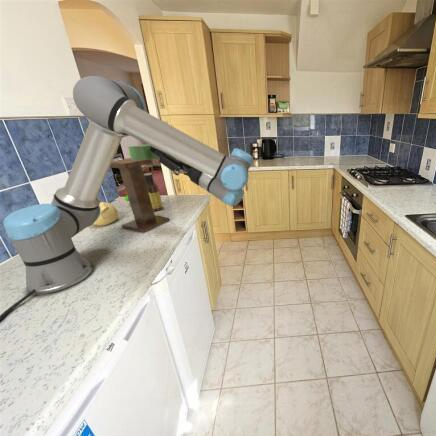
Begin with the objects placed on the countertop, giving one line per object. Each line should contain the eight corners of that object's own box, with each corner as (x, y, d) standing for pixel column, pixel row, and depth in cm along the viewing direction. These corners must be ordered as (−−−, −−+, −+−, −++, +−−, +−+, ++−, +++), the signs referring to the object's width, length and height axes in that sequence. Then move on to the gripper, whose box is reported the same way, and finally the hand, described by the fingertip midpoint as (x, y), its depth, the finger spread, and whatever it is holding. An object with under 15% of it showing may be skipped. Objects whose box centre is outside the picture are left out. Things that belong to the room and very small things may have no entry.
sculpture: (83, 227, 113) (75, 206, 109) (106, 217, 124) (98, 197, 120) (104, 228, 111) (96, 207, 107) (125, 218, 122) (118, 198, 118)
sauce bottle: (152, 208, 135) (142, 173, 127) (164, 206, 137) (155, 172, 129) (149, 212, 129) (139, 175, 122) (162, 210, 131) (153, 174, 123)
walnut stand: (144, 232, 107) (123, 164, 95) (122, 227, 112) (100, 162, 100) (169, 220, 119) (154, 158, 107) (149, 216, 124) (132, 157, 112)
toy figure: (167, 159, 88) (164, 145, 86) (125, 160, 96) (121, 147, 94) (182, 156, 94) (179, 143, 92) (141, 157, 102) (137, 144, 100)
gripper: (186, 192, 84) (135, 158, 87) (216, 180, 98) (172, 151, 101) (190, 174, 80) (136, 139, 83) (221, 164, 94) (174, 134, 97)
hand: (156, 146), depth 92 cm, fingers closed on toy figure, 4 cm apart
